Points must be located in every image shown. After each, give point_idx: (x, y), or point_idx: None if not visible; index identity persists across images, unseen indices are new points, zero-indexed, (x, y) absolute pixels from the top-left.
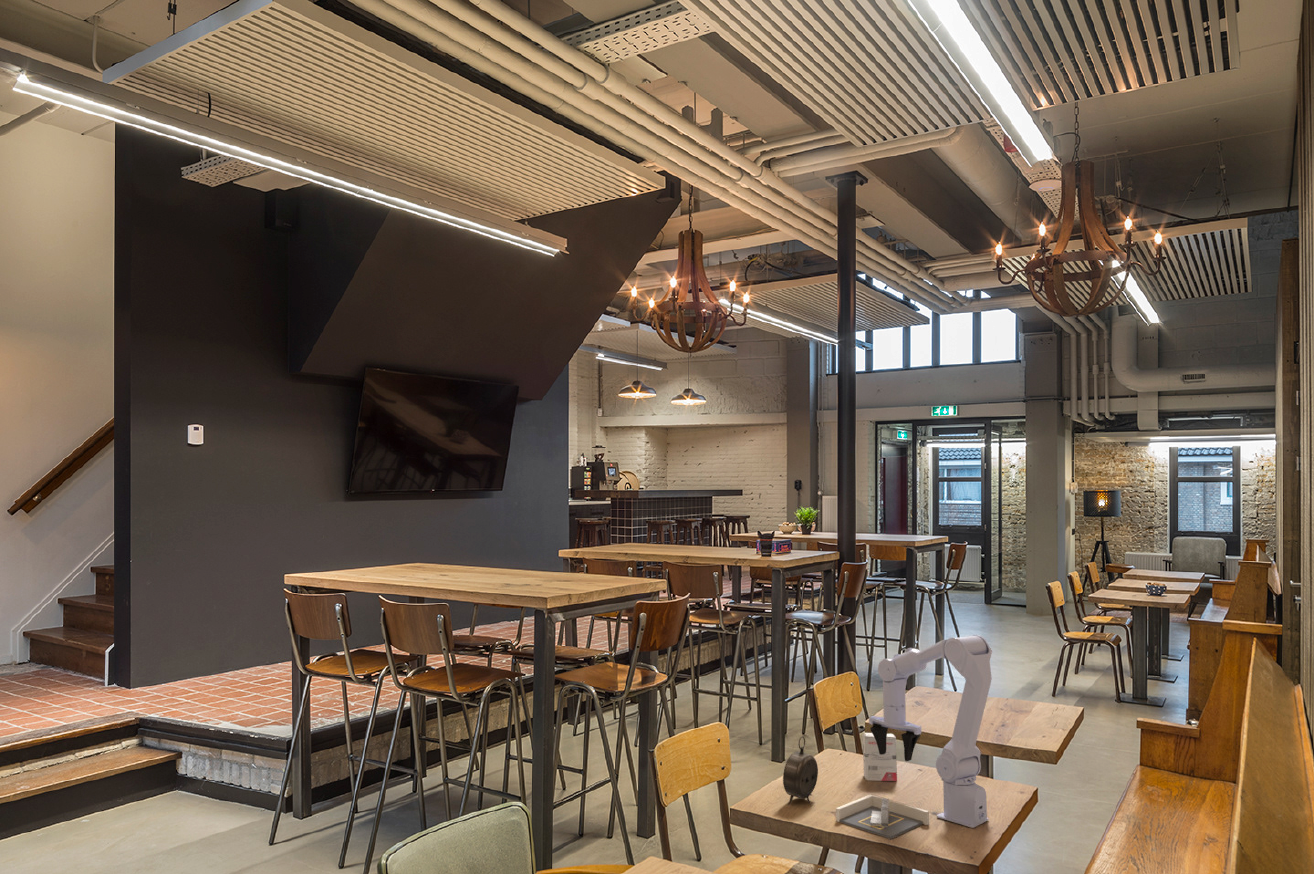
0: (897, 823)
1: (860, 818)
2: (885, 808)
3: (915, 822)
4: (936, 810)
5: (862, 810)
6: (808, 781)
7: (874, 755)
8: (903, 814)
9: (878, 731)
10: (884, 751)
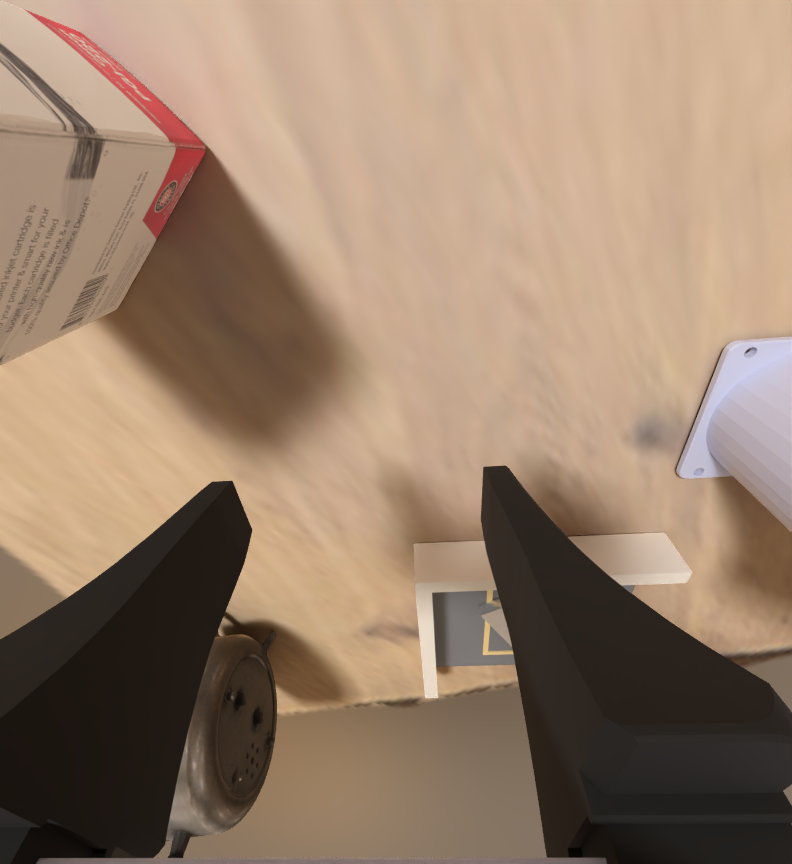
0: None
1: (471, 636)
2: None
3: None
4: (646, 402)
5: (434, 601)
6: (262, 713)
7: (11, 324)
8: None
9: (161, 807)
10: (230, 510)
